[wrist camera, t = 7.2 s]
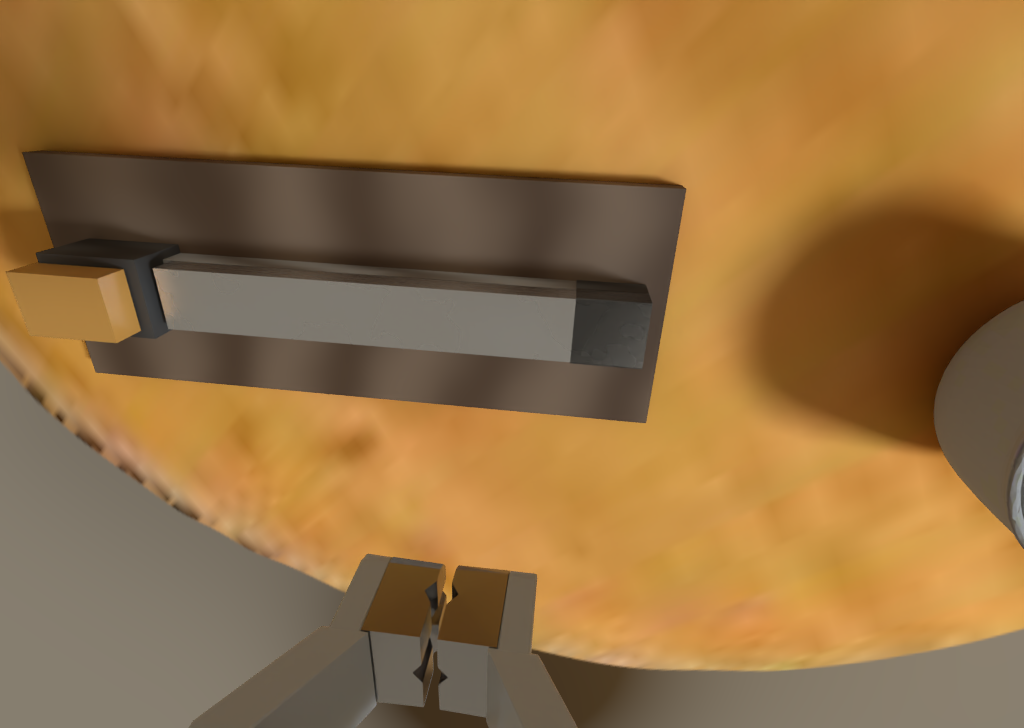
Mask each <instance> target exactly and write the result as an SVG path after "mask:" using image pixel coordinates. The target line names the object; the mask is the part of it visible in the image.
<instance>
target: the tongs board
mask: <svg viewBox="0 0 1024 728" xmlns="http://www.w3.org/2000/svg"><path fill="white" fill-rule="evenodd" d="M22 153H23V156H24V159H25V162H26V165H27V168H28V171H29V174H30V177H31V180H32V183H33V186H34V189H35V192H36V195H37V198H38V201H39V204H40V207H41V210H42V213H43V216H44V219H45V222H46V225H47V228H48V231H49V234H50V237H51V240H52V243H53V246H54V248H52V249H48V250H44V251H41V252H37V253H36V256H37V259H38V262H39V263H47V264H60V265H74V266H87V267H101V268H114V269H124V272H125V276H126V279H127V283H128V286H129V290H130V293H131V297H132V301H133V304H134V308H135V311H136V315H137V318H138V322H139V325H140V329H141V331H139V332H138V333H136V334H134V335H132V336H130V337H128V338H126V339H124V340H122V341H120V342H118V343H109V342H97V341H86V340H85V342H86V345H87V348H88V351H89V354H90V357H91V360H92V363H93V366H94V369H95V372H97V373H108V374H118V375H129V376H140V377H151V378H162V379H173V380H183V381H194V382H205V383H216V384H227V385H238V386H248V387H259V388H270V389H281V390H292V391H303V392H314V393H324V394H335V395H346V396H357V397H368V398H379V399H389V400H400V401H411V402H422V403H433V404H444V405H454V406H465V407H476V408H487V409H498V410H509V411H519V412H530V413H541V414H552V415H563V416H574V417H585V418H595V419H606V420H617V421H628V422H639V423H646V420H647V414H648V408H649V402H650V397H651V391H652V385H653V379H654V373H655V367H656V362H657V356H658V350H659V344H660V338H661V333H662V327H663V321H664V315H665V309H666V303H667V298H668V292H669V286H670V280H671V274H672V269H673V263H674V257H675V251H676V245H677V240H678V234H679V228H680V222H681V216H682V210H683V205H684V199H685V193H686V188H684V187H683V186H681V185H663V184H645V183H626V182H608V181H590V180H571V179H553V178H535V177H517V176H498V175H480V174H462V173H443V172H425V171H407V170H388V169H370V168H352V167H333V166H315V165H297V164H279V163H260V162H242V161H224V160H205V159H187V158H169V157H150V156H132V155H114V154H95V153H77V152H59V151H32V152H22ZM170 261H180V262H194V263H208V264H222V265H236V266H250V267H264V268H278V269H292V270H306V271H320V272H334V273H348V274H362V275H376V276H390V277H404V278H418V279H432V280H445V281H459V282H473V283H487V284H501V285H515V286H529V287H543V288H557V289H571V290H576V289H587V290H601V291H615V292H629V293H643V294H649V295H650V297H651V300H652V303H653V305H652V311H651V317H650V324H649V330H648V336H647V342H646V349H645V355H644V361H643V367H642V369H630V368H618V367H606V366H594V365H582V364H570V362H559V361H547V360H535V359H523V358H511V357H499V356H487V355H475V354H463V353H450V352H438V351H426V350H414V349H402V348H390V347H378V346H366V345H354V344H342V343H330V342H318V341H306V340H294V339H282V338H270V337H258V336H246V335H234V334H221V333H209V332H197V331H185V330H173V329H168V326H167V322H166V318H165V314H164V310H163V306H162V303H161V299H160V295H159V291H158V287H157V283H156V279H155V275H154V272H153V268H155V267H157V266H160V265H162V264H165V263H167V262H170Z"/></svg>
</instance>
